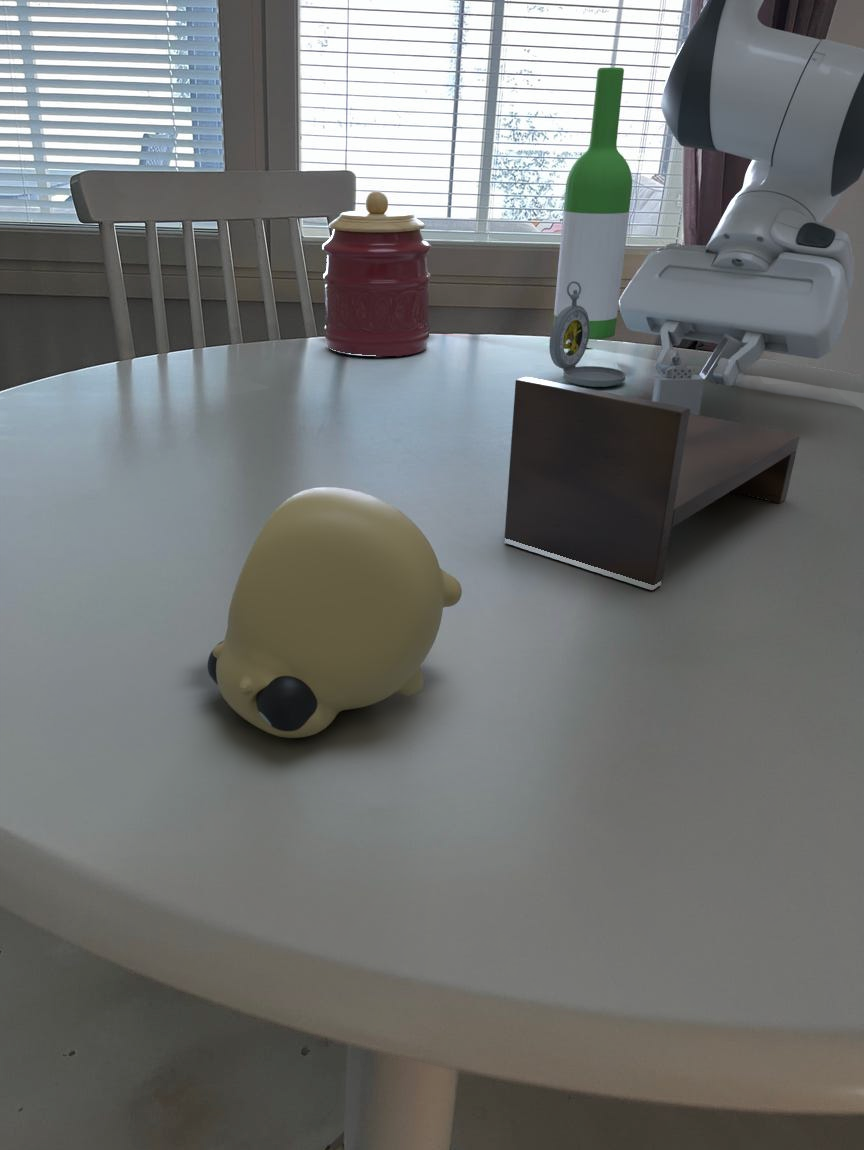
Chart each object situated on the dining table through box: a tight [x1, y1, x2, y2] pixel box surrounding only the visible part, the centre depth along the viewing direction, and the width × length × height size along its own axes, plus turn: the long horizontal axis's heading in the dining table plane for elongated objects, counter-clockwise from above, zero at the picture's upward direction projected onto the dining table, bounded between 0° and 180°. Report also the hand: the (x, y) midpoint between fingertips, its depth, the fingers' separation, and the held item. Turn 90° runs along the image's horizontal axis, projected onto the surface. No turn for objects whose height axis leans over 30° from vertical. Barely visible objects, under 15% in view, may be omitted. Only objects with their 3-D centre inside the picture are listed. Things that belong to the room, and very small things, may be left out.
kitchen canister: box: [321, 190, 432, 357], centre depth 112 cm, size 13×13×18 cm
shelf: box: [504, 376, 801, 585], centre depth 64 cm, size 11×21×11 cm, turn 138°
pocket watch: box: [549, 281, 627, 388], centre depth 100 cm, size 8×8×10 cm
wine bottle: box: [552, 67, 633, 350], centre depth 111 cm, size 8×8×30 cm
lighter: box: [651, 334, 742, 415], centre depth 86 cm, size 7×2×8 cm, turn 90°
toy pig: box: [207, 486, 463, 739], centre depth 44 cm, size 10×12×11 cm
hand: (692, 376), depth 86 cm, fingers closed on lighter, 4 cm apart
